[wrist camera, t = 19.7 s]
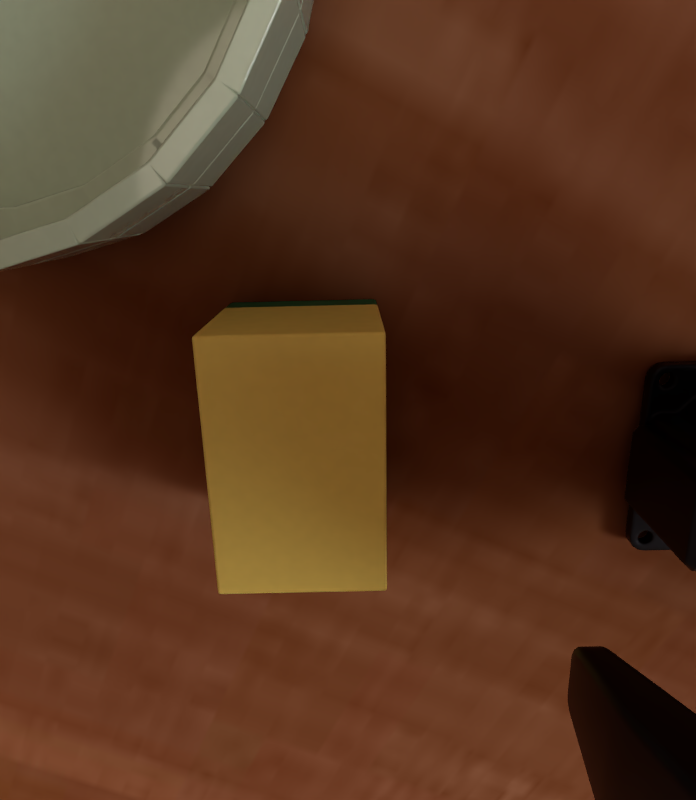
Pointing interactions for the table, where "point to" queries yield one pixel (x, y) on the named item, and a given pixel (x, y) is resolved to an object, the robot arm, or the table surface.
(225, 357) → the sponge
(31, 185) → the bowl
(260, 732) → the table surface
